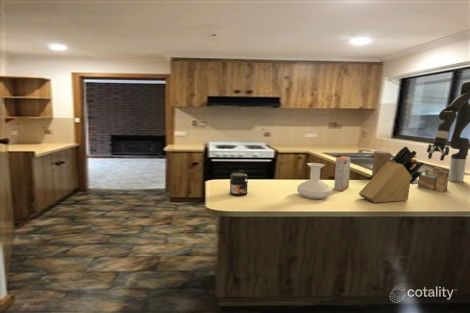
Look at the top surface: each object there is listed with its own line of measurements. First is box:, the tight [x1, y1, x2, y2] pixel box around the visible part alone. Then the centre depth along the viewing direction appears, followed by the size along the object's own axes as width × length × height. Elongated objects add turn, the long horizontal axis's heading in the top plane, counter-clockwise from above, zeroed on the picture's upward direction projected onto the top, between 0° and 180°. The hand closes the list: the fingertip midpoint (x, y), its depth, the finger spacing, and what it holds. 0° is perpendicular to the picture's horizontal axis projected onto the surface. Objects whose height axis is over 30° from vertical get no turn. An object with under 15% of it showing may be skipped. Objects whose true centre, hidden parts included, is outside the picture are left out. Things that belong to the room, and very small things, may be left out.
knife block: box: [358, 145, 425, 204], centre depth 179 cm, size 11×35×31 cm, turn 106°
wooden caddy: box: [417, 171, 449, 193], centre depth 210 cm, size 14×16×12 cm
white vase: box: [296, 162, 333, 200], centre depth 182 cm, size 20×20×19 cm
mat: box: [410, 178, 419, 185], centre depth 231 cm, size 16×13×1 cm
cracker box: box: [333, 155, 352, 192], centre depth 201 cm, size 14×6×21 cm, turn 145°
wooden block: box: [371, 150, 392, 178], centre depth 239 cm, size 10×10×20 cm
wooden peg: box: [424, 168, 446, 177], centre depth 207 cm, size 3×12×3 cm, turn 23°
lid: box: [421, 166, 444, 179], centre depth 211 cm, size 15×11×7 cm
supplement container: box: [229, 172, 248, 197], centre depth 183 cm, size 10×10×12 cm
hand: (435, 159), depth 224 cm, fingers open, 8 cm apart
